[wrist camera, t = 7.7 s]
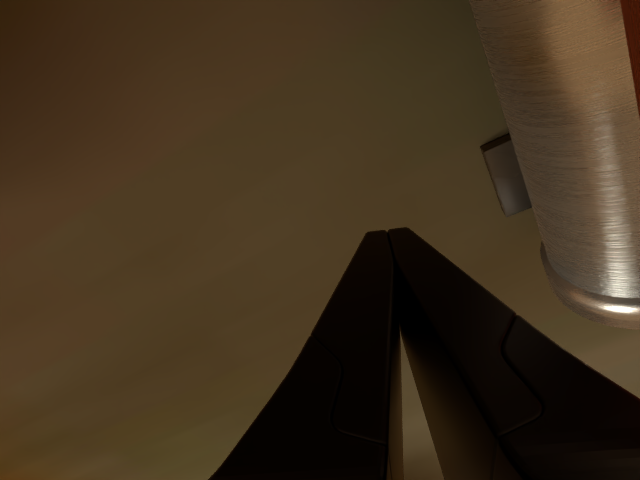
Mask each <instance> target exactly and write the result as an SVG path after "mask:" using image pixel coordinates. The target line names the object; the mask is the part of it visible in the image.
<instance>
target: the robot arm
mask: <svg viewBox="0 0 640 480" xmlns="http://www.w3.org/2000/svg"><path fill="white" fill-rule="evenodd" d="M399 326H400V327H399ZM400 331H401V336H402V340H403V343H404V347H405V350H406V354H407V357H408V360H409V363H410V367H411V370H412V373H413V377H414V380H415V383H416V387H417V390H418V393H419V397H420V400H421V403H422V407H423V410H424V413H425V417H426V420H427V423H428V426H429V430H430V433H431V436H432V440H433V443H434V446H435V450H436V453H437V456H438V460H439V463H440V466H441V470H442V473H443V476H444V480H640V399H639V398H638V397H636V396H635V395H633V394H632V393H630V392H629V391H627V390H625V389H624V388H622V387H621V386H619V385H618V384H616V383H615V382H613V381H611V380H610V379H608V378H607V377H605V376H604V375H602V374H601V373H599V372H597V371H596V370H594V369H593V368H591V367H590V366H588V365H587V364H585V363H584V362H582V361H581V360H579V359H578V358H576V357H575V356H574V355H572V354H571V353H569V352H568V351H566V350H565V349H563V348H562V347H560V346H559V345H558V344H556V343H555V342H554V341H552V340H551V339H550V338H548V337H547V336H545V335H544V334H543V333H541V332H540V331H539V330H537V329H536V328H535V327H534V326H532V325H531V324H530V323H528V322H527V321H526V320H525V319H523V318H522V317H521V316H519V315H517V316H516V313H515V312H514V311H513V310H512V309H510V308H509V307H508V306H507V305H505V304H504V303H503V302H502V301H500V300H499V299H498V298H497V297H495V296H494V295H493V294H491V293H490V292H489V291H488V290H486V289H485V288H484V287H483V286H481V285H480V284H479V283H478V282H476V281H475V280H474V279H472V278H471V277H470V276H469V275H467V274H466V273H465V272H464V271H462V270H461V269H460V268H459V267H457V266H456V265H455V264H453V263H452V262H451V261H450V260H448V259H447V258H446V257H445V256H443V255H442V254H441V253H440V252H438V251H437V250H436V249H435V248H433V247H432V246H431V245H429V244H428V243H427V242H426V241H424V240H423V239H422V238H421V237H419V236H418V235H417V234H416V233H414V232H413V231H412V230H410V229H409V228H407V227H403V228H395V229H389V230H388V232H386V231H385V230H379V231H371V232H367V233H366V234H365V236H364V238H363V240H362V241H361V243H360V245H359V247H358V249H357V250H356V252H355V254H354V256H353V258H352V260H351V261H350V263H349V265H348V267H347V269H346V271H345V272H344V274H343V276H342V278H341V280H340V282H339V283H338V285H337V287H336V289H335V291H334V292H333V294H332V296H331V298H330V300H329V302H328V303H327V305H326V307H325V309H324V311H323V313H322V314H321V316H320V318H319V320H318V322H317V324H316V325H315V327H314V329H313V331H312V333H311V336H310V337H309V338H308V340H307V341H306V343H305V345H304V347H303V349H302V351H301V352H300V354H299V356H298V357H297V359H296V361H295V362H294V364H293V366H292V367H291V369H290V371H289V372H288V374H287V375H286V377H285V378H284V380H283V381H282V383H281V384H280V385H279V387H278V388H277V390H276V391H275V393H274V394H273V396H272V397H271V398H270V400H269V401H268V402H267V404H266V405H265V407H264V408H263V409H262V411H261V412H260V413H259V415H258V416H257V417H256V419H255V420H254V422H253V423H252V424H251V426H250V427H249V428H248V430H247V431H246V432H245V434H244V435H243V436H242V438H241V439H240V441H239V442H238V443H237V445H236V446H235V447H234V449H233V450H232V451H231V453H230V454H229V456H228V457H227V458H226V460H225V461H224V462H223V463H222V465H221V466H220V467H219V468H218V469H217V471H216V472H215V473H214V474H213V475H212V476H211V477H210V478H209V479H208V480H403V433H402V386H401V343H400Z"/></svg>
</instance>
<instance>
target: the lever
mask: <svg viewBox="0 0 640 480" xmlns="http://www.w3.org/2000/svg"><path fill="white" fill-rule="evenodd" d="M620 3H621V9H622V15H623V22H624V28H625V34H626V40H627V46H628V52H629V58H630V64H631V70H632V76H633V82H634V88H635V94H636V100H637V106H638V112H639V119H640V0H620Z"/></svg>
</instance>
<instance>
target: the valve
mask: <svg viewBox="0 0 640 480" xmlns="http://www.w3.org/2000/svg"><path fill="white" fill-rule="evenodd" d="M469 3H470V6H471V9H472V12H473V16H474V19H475V22H476V25H477V29H478V32H479V35H480V38H481V42H482V45H483V48H484V51H485V55H486V58H487V61H488V64H489V68H490V71H491V74H492V78H493V81H494V84H495V87H496V91H497V94H498V97H499V100H500V104H501V107H502V110H503V113H504V117H505V120H506V123H507V126H508V130H509V134H507V135H505V136H503V137H501V138H498V139H496V140H494V141H492V142H489V143H487V144H485V145H483V146H481V147H480V148H481V151H482V154H483V157H484V160H485V163H486V165H487V168H488V171H489V174H490V177H491V180H492V182H493V185H494V188H495V191H496V194H497V197H498V199H499V202H500V205H501V208H502V211H503V212H504V214H505V215H506V217H509V216H511V215H514V214H516V213H519V212H521V211H524V210H526V209H529V208H531V207H532V208H533V211H534V214H535V218H536V221H537V224H538V227H539V231H540V234H541V237H542V242H541V248H540V252H541V259H542V262H543V265H544V268H545V272H546V275H547V278H548V281H549V284H550V287H551V289H552V291H553V293H554V294H555V295H556V297H557V298H558V299H559V300H560V301H561V302H562V303H563V304H564V305H565V306H566V307H568V308H569V309H570V310H572V311H573V312H575V313H577V314H579V315H580V316H582V317H585V318H587V319H589V320H592V321H594V322H598V323H601V324H604V325H609V326H613V327H618V328H626V329H640V119H639V112H638V106H637V100H636V94H635V88H634V82H633V76H632V70H631V64H630V58H629V52H628V46H627V40H626V34H625V28H624V22H623V15H622V9H621V3H620V0H469Z"/></svg>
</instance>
